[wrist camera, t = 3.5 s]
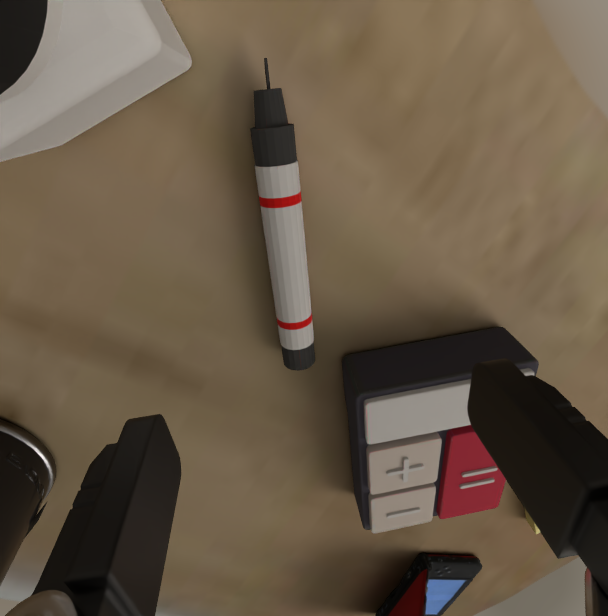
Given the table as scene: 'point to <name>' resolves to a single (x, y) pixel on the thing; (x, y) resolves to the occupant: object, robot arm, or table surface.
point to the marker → (283, 225)
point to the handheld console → (431, 585)
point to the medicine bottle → (78, 66)
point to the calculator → (422, 429)
